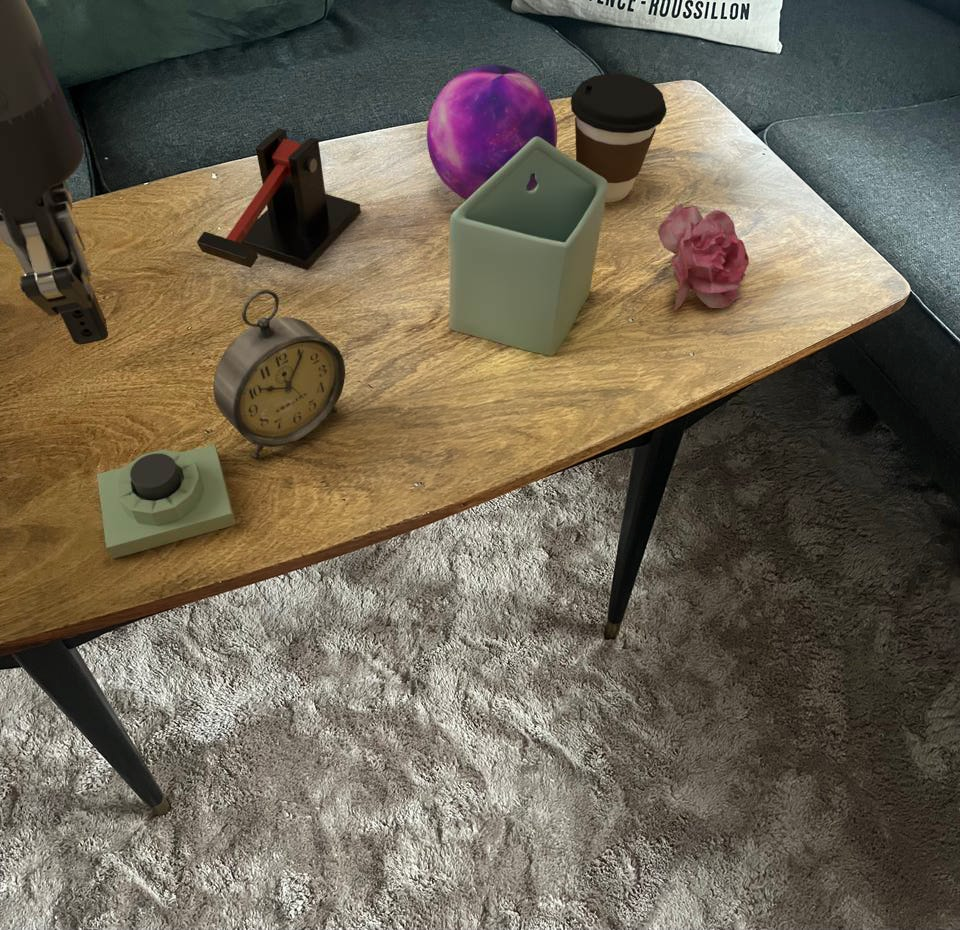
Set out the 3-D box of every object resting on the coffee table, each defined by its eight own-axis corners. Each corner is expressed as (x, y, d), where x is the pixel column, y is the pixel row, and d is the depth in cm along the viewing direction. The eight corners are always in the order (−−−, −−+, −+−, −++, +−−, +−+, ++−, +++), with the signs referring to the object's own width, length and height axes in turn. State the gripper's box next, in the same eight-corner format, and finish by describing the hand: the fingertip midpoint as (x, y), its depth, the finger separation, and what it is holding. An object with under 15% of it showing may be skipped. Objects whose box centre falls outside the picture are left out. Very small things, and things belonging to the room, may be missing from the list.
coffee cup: (553, 206, 100) (564, 111, 91) (567, 158, 107) (579, 65, 98) (643, 220, 99) (664, 125, 90) (652, 171, 106) (672, 78, 96)
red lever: (252, 271, 84) (244, 255, 82) (203, 254, 86) (194, 239, 83) (322, 164, 90) (317, 147, 87) (275, 150, 91) (268, 133, 89)
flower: (741, 311, 94) (780, 288, 84) (657, 327, 93) (686, 305, 83) (720, 214, 95) (756, 179, 85) (636, 229, 94) (663, 195, 84)
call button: (139, 505, 67) (132, 492, 66) (133, 472, 69) (127, 459, 68) (184, 493, 68) (179, 480, 67) (177, 461, 70) (172, 448, 69)
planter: (477, 377, 82) (485, 203, 66) (448, 326, 86) (448, 152, 71) (622, 336, 86) (661, 164, 71) (587, 290, 91) (616, 118, 75)
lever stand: (307, 270, 91) (292, 183, 83) (238, 247, 93) (217, 160, 85) (360, 212, 98) (352, 126, 90) (295, 192, 100) (281, 107, 92)
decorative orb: (526, 243, 95) (537, 120, 84) (407, 212, 99) (402, 88, 87) (566, 176, 104) (581, 56, 93) (456, 149, 107) (457, 30, 96)
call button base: (112, 559, 68) (98, 535, 65) (103, 485, 72) (89, 460, 69) (236, 524, 70) (227, 500, 67) (219, 455, 75) (210, 430, 72)
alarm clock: (253, 476, 73) (212, 340, 61) (222, 440, 76) (176, 302, 63) (354, 417, 78) (336, 280, 65) (321, 385, 80) (298, 247, 68)
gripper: (-99, 36, 45) (28, 287, 59) (-110, 164, 38) (38, 418, 51) (47, 18, 47) (137, 265, 61) (64, 137, 39) (163, 389, 53)
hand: (91, 335), depth 56 cm, fingers closed
